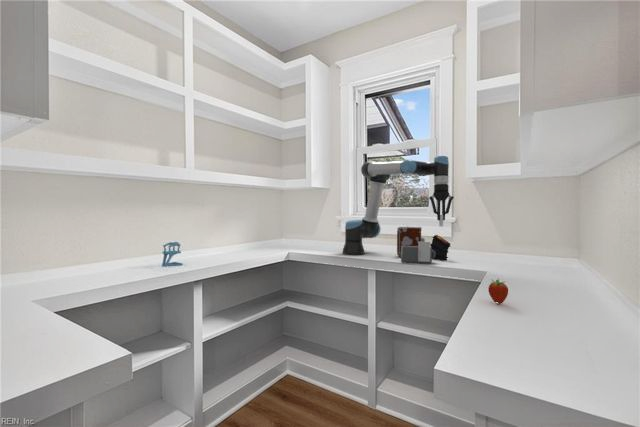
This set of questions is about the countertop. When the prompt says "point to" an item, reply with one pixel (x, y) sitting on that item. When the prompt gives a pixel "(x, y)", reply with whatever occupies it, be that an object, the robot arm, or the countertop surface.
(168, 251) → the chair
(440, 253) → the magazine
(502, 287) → the fruit
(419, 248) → the side door
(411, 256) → the block
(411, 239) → the brown box
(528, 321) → the countertop surface
